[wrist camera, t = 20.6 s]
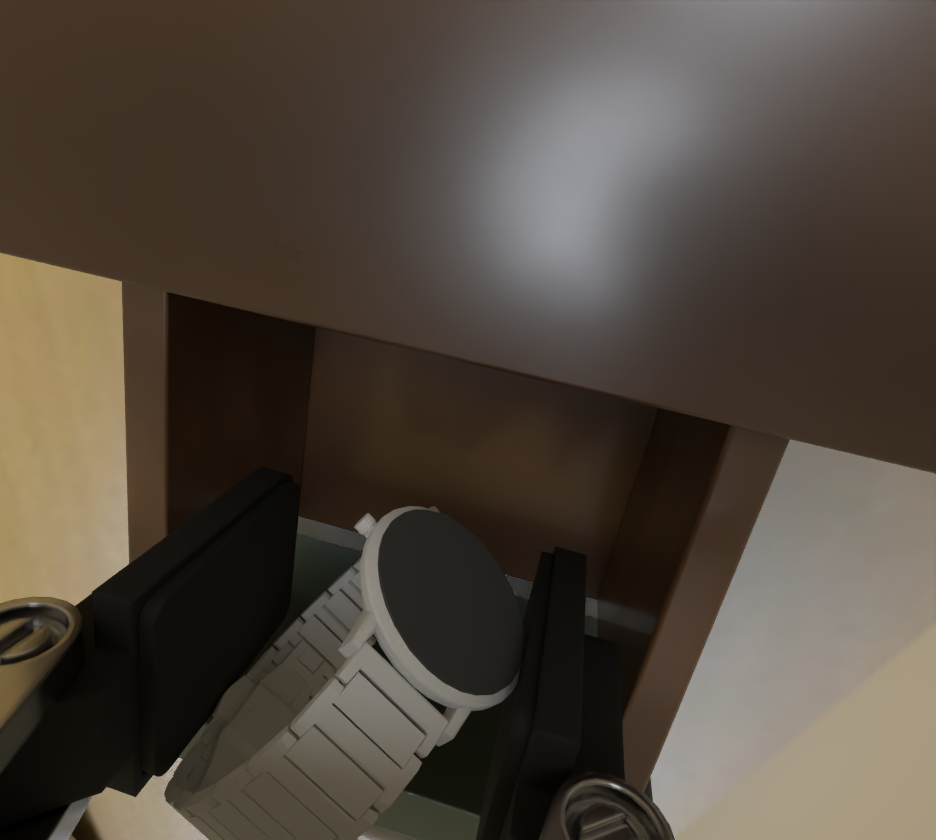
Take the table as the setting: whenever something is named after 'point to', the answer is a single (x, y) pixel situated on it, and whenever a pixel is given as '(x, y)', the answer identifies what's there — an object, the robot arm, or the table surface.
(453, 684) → the wristwatch
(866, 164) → the cabinet
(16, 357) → the table surface
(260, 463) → the drawer
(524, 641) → the robot arm
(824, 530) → the table surface
